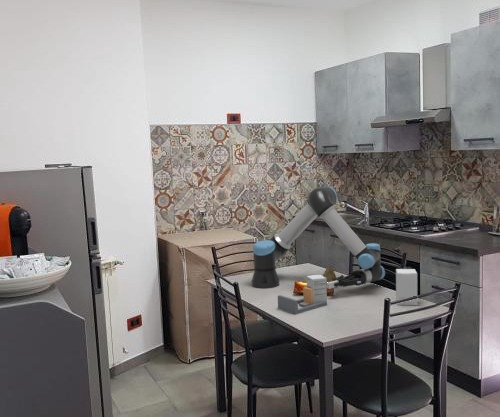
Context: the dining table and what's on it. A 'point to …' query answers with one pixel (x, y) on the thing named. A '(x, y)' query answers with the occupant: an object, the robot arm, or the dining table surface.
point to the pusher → (307, 297)
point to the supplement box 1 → (318, 288)
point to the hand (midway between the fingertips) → (328, 285)
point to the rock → (329, 274)
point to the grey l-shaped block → (295, 305)
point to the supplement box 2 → (406, 285)
